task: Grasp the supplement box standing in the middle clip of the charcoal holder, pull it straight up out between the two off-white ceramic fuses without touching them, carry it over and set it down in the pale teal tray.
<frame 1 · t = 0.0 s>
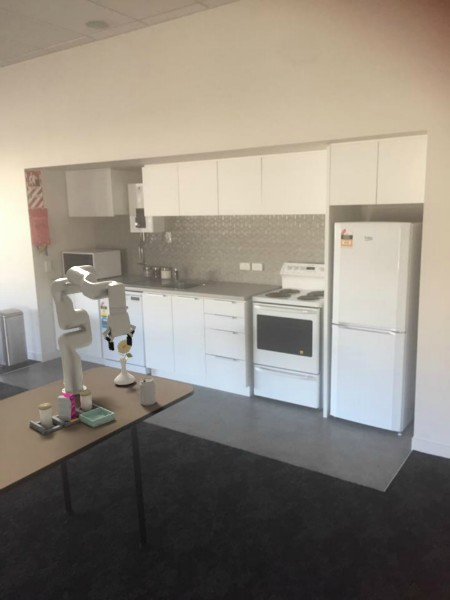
hand: (120, 347, 227), 31 cm above the table, tool pointing down, fingers open, 9 cm apart
can: (148, 403, 243), on the table
supplement box: (67, 419, 228), resting in clip holder
fuse B: (87, 412, 235), resting in clip holder
fuse A: (47, 426, 221), resting in clip holder
tray: (97, 420, 226), on the table
clip holder: (67, 419, 228), on the table
flower in vase: (126, 383, 272), on the table
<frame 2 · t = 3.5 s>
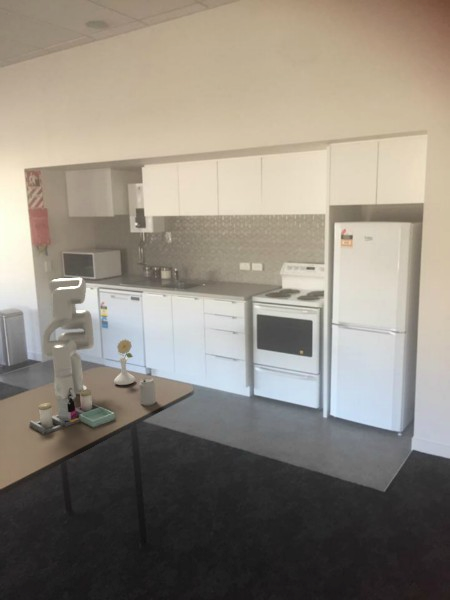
hand: (66, 408, 227), 5 cm above the table, tool pointing down, fingers closed on supplement box, 7 cm apart
supplement box: (67, 419, 228), resting in clip holder, touching gripper
everything else where it was.
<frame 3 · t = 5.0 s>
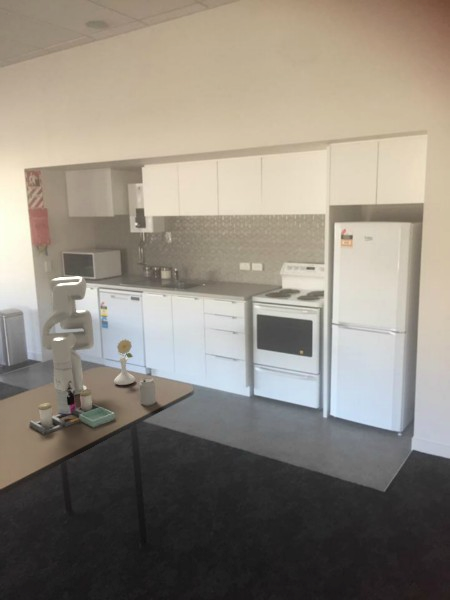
hand: (66, 401, 227), 8 cm above the table, tool pointing down, fingers closed on supplement box, 7 cm apart
supplement box: (67, 412, 228), point 3 cm above the table, touching gripper
everything else where it was.
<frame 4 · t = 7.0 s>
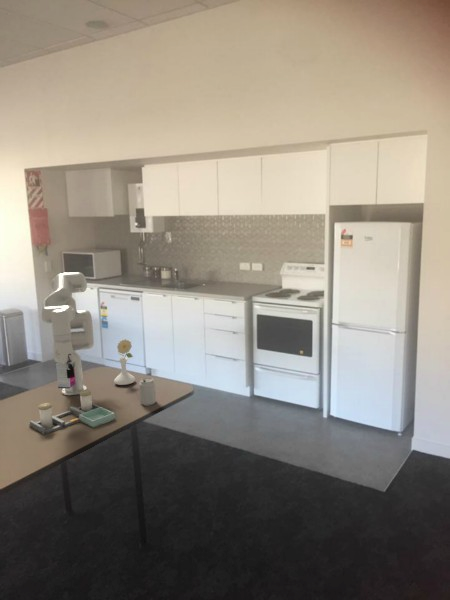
hand: (66, 375, 224), 21 cm above the table, tool pointing down, fingers closed on supplement box, 7 cm apart
supplement box: (67, 386, 225), point 16 cm above the table, touching gripper
everything else where it was.
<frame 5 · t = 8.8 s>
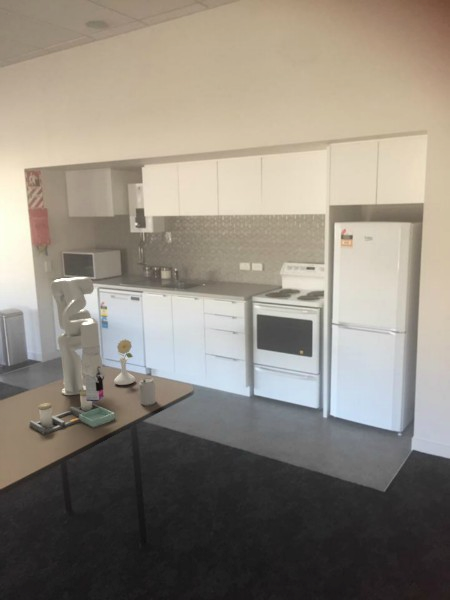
hand: (94, 388, 223), 15 cm above the table, tool pointing down, fingers closed on supplement box, 7 cm apart
supplement box: (95, 399, 224), point 10 cm above the table, touching gripper
everything else where it was.
when the fingers open (7 cm above the table, at t = 10.6 s): supplement box drops 1 cm, resting on tray.
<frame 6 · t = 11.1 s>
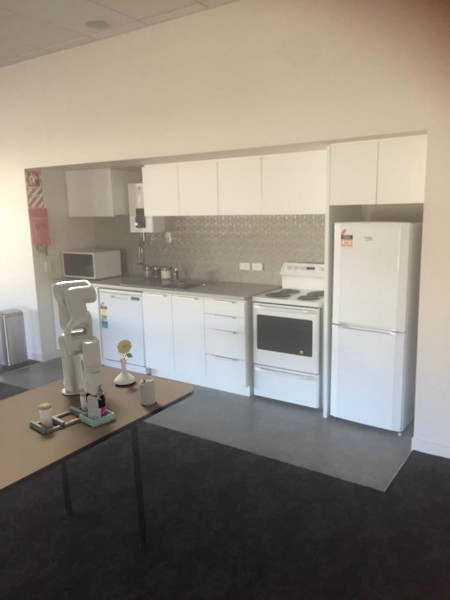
hand: (95, 404, 225), 7 cm above the table, tool pointing down, fingers open, 9 cm apart
supplement box: (97, 419, 226), resting on tray
everything else where it was.
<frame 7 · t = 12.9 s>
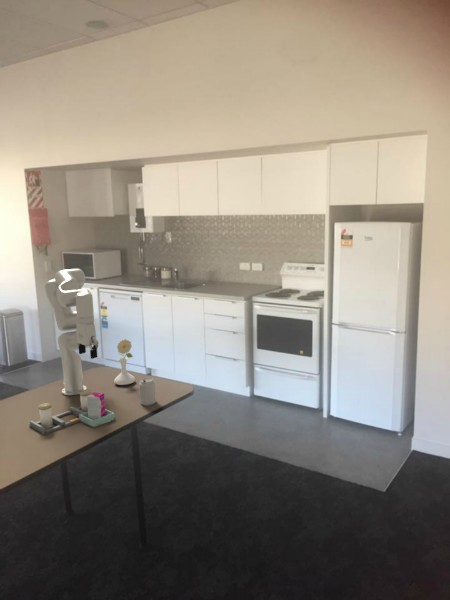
hand: (88, 355, 232), 27 cm above the table, tool pointing down, fingers open, 9 cm apart
nothing on the table moved.
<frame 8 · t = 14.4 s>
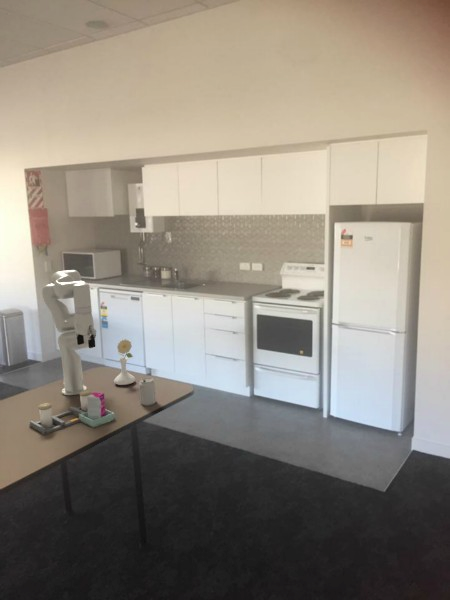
hand: (86, 345, 236), 30 cm above the table, tool pointing down, fingers open, 9 cm apart
nothing on the table moved.
at the end: supplement box 0.2 cm off-centre on the tray, point 0.4 cm above the tray's base; supplement box tilted 0°; the gripper is holding nothing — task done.
